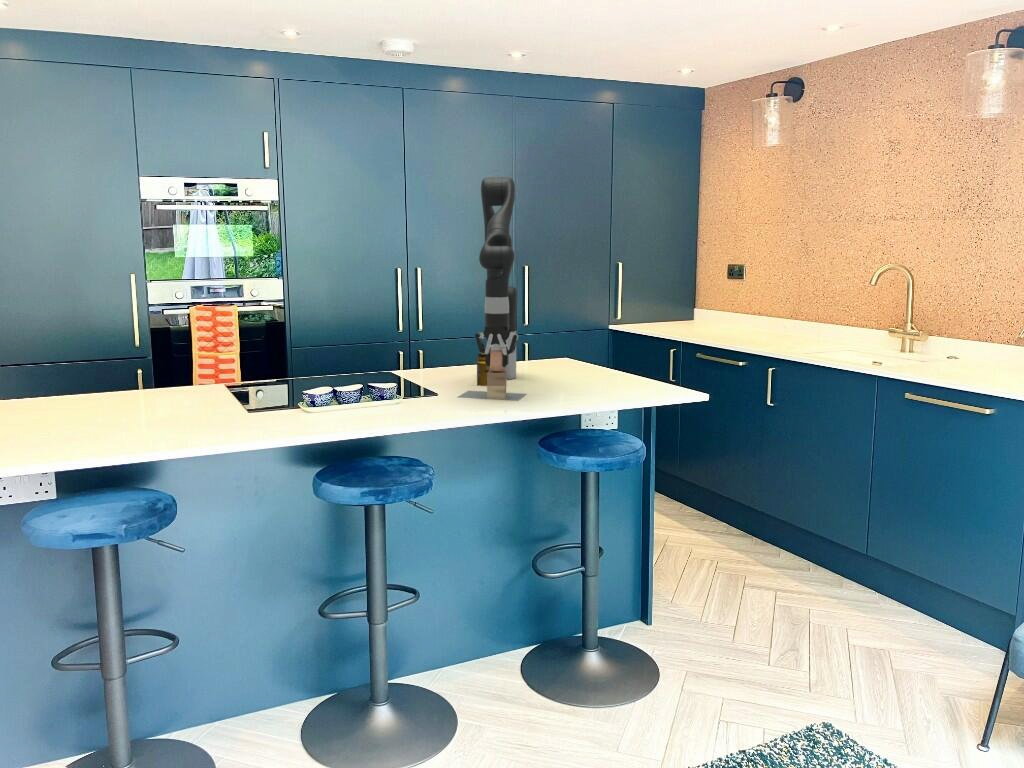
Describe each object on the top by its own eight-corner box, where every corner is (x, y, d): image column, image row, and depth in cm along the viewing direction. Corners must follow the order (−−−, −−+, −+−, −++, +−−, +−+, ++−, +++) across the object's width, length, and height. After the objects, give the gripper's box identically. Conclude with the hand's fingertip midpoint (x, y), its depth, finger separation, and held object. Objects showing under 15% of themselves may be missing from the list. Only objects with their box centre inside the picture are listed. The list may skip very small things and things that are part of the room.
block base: (489, 395, 266) (489, 382, 265) (506, 395, 265) (506, 383, 265) (487, 398, 260) (487, 385, 260) (504, 398, 260) (504, 386, 259)
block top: (489, 382, 265) (489, 370, 264) (506, 383, 265) (506, 370, 264) (487, 385, 260) (487, 373, 259) (504, 386, 259) (504, 373, 258)
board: (468, 394, 274) (468, 390, 273) (527, 397, 268) (527, 393, 268) (456, 401, 262) (456, 397, 262) (518, 404, 257) (518, 400, 257)
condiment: (496, 389, 283) (496, 354, 281) (471, 390, 282) (471, 354, 280) (494, 385, 290) (494, 351, 288) (469, 386, 289) (469, 351, 287)
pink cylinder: (491, 368, 264) (492, 349, 263) (505, 369, 263) (505, 350, 262) (487, 370, 260) (488, 351, 259) (501, 371, 259) (502, 352, 258)
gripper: (522, 311, 260) (522, 365, 263) (478, 309, 264) (478, 363, 267) (516, 313, 253) (515, 369, 256) (471, 311, 256) (471, 367, 259)
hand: (496, 366), depth 261 cm, fingers closed on pink cylinder, 4 cm apart
